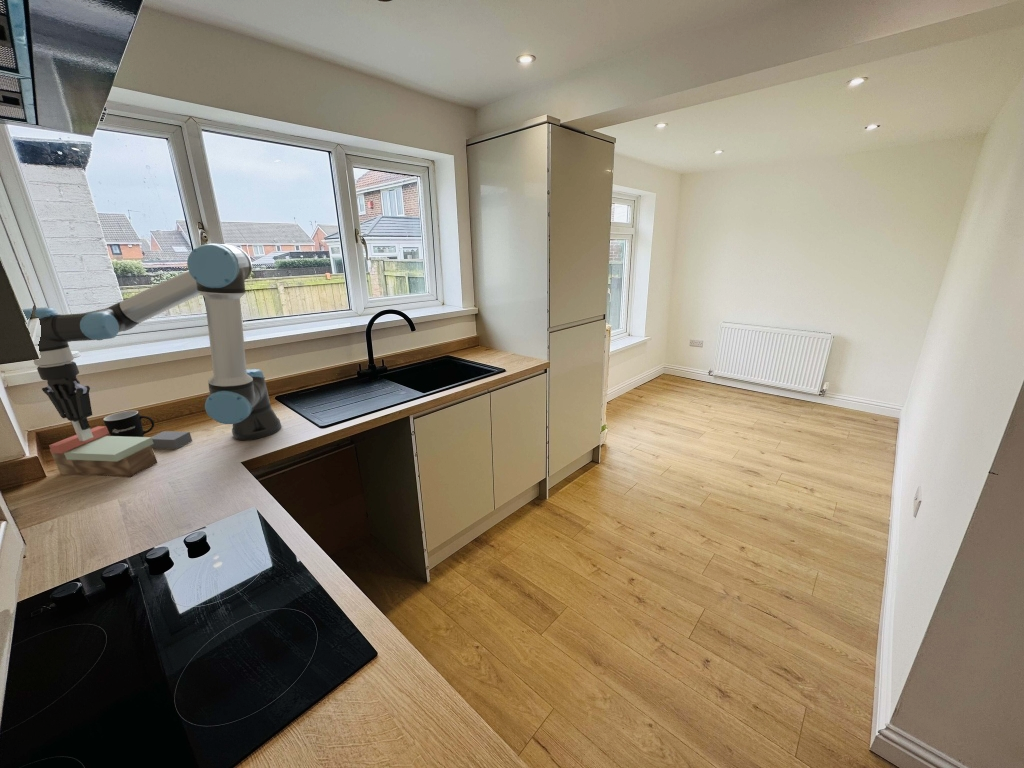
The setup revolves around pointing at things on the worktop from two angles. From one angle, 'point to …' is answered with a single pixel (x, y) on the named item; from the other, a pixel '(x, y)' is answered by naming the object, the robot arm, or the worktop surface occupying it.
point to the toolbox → (107, 464)
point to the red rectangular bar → (77, 440)
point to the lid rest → (171, 440)
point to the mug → (126, 424)
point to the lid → (109, 448)
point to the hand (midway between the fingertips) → (86, 438)
